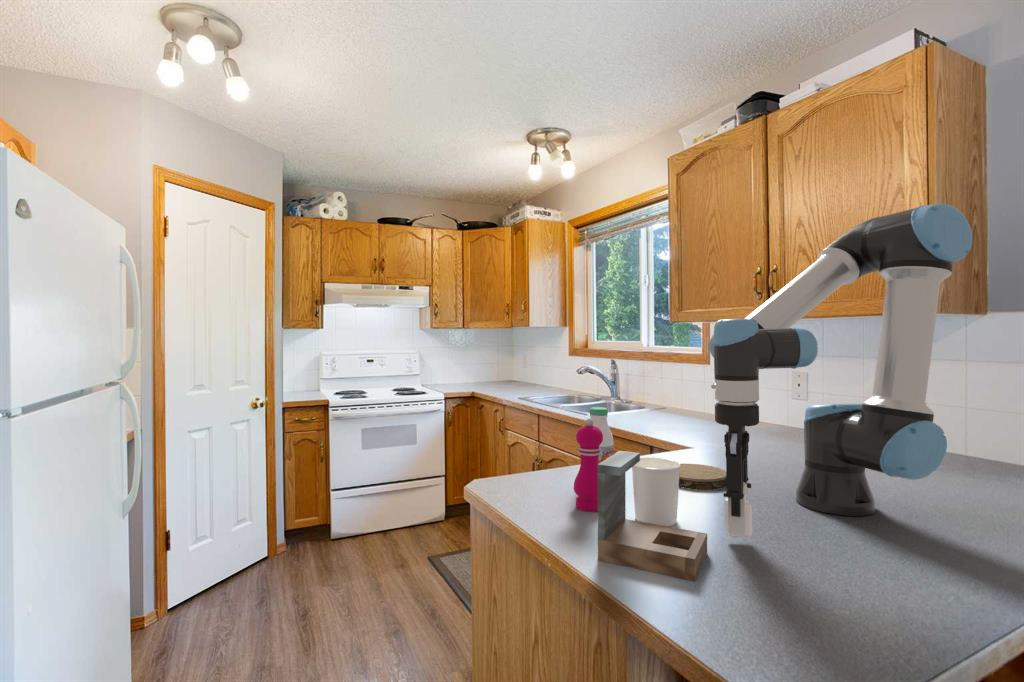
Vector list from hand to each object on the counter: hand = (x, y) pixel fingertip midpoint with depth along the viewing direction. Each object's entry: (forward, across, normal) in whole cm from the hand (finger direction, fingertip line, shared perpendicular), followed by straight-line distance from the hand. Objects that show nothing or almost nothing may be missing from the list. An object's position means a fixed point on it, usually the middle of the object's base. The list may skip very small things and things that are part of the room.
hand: (738, 527), depth 95 cm
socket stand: (+3, +13, -12) cm, 18 cm away
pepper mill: (+3, -6, -31) cm, 32 cm away
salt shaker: (+2, 0, 0) cm, 2 cm away
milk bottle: (+3, -23, -35) cm, 42 cm away
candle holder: (+3, -5, -16) cm, 17 cm away
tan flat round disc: (+4, -39, -14) cm, 41 cm away
